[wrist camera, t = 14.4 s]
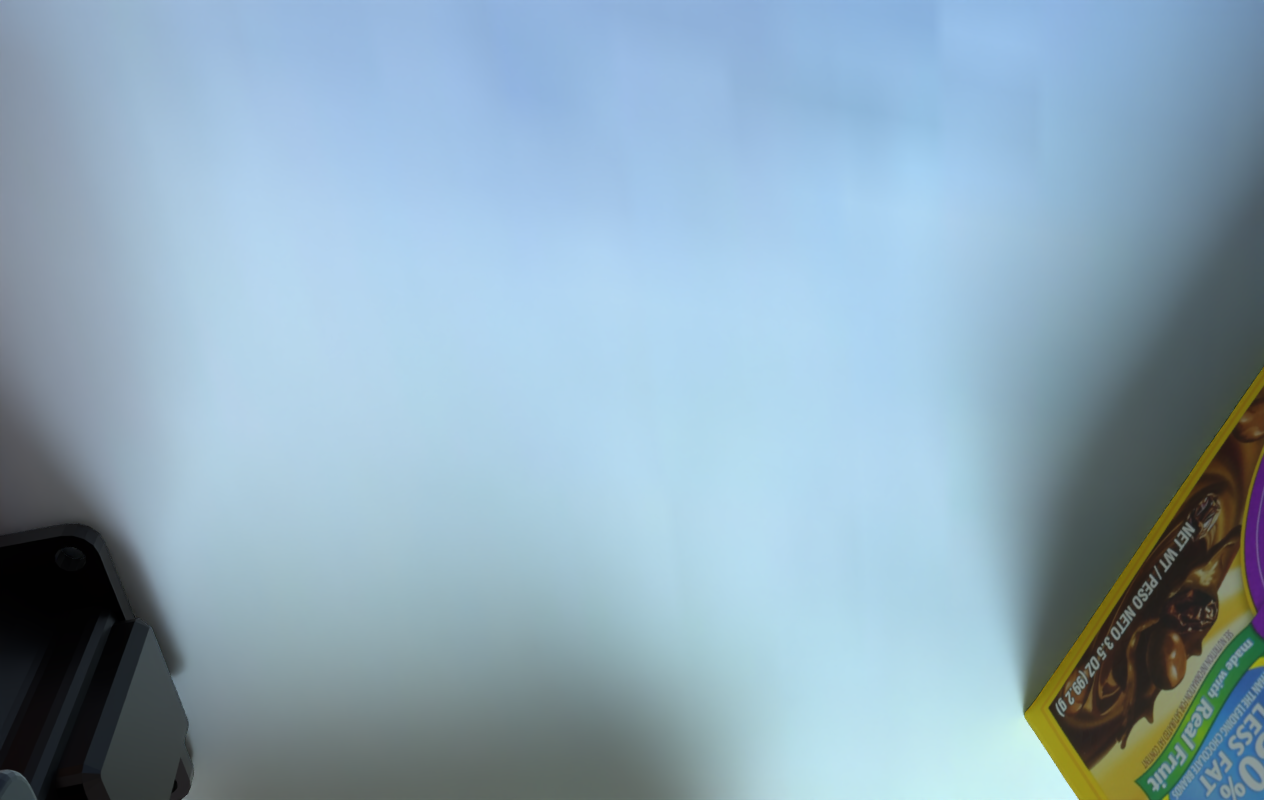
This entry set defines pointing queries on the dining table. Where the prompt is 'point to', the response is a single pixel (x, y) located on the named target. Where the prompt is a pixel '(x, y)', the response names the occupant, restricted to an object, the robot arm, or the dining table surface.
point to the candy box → (1176, 645)
